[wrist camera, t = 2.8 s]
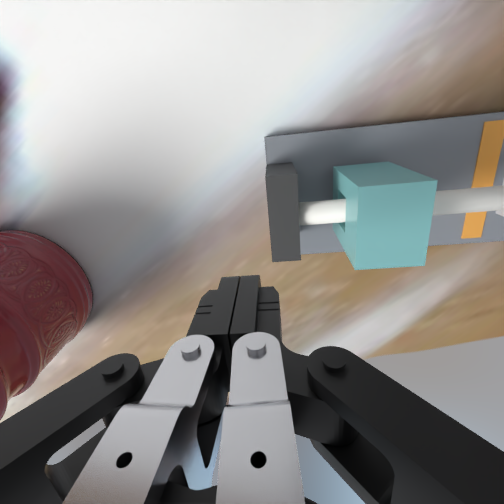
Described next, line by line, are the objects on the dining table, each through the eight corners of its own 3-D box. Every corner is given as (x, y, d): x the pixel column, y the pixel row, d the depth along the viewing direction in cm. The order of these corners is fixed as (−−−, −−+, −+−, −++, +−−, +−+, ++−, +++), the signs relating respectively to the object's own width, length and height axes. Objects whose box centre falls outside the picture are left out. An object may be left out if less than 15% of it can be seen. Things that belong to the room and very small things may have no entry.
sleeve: (333, 166, 22) (358, 187, 16) (388, 161, 22) (437, 180, 15) (332, 228, 24) (355, 269, 18) (383, 225, 24) (424, 265, 17)
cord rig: (264, 136, 23) (261, 145, 16) (569, 104, 21) (724, 97, 14) (273, 251, 28) (274, 299, 20) (530, 234, 25) (634, 280, 18)
